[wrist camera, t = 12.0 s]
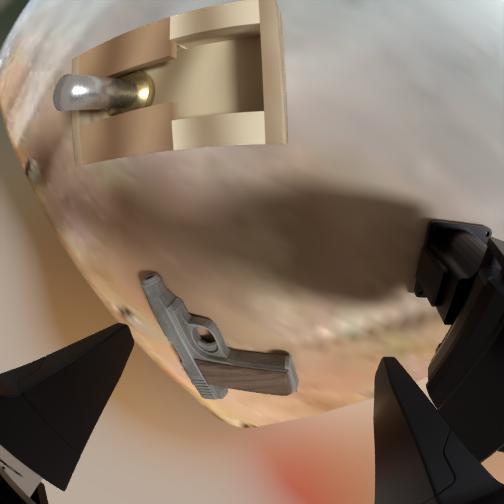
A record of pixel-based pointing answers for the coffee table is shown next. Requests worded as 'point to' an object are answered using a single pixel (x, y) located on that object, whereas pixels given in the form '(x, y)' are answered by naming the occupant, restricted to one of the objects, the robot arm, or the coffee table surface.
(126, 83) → the peg
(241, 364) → the handgun
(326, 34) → the coffee table surface
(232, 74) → the keyhole board
